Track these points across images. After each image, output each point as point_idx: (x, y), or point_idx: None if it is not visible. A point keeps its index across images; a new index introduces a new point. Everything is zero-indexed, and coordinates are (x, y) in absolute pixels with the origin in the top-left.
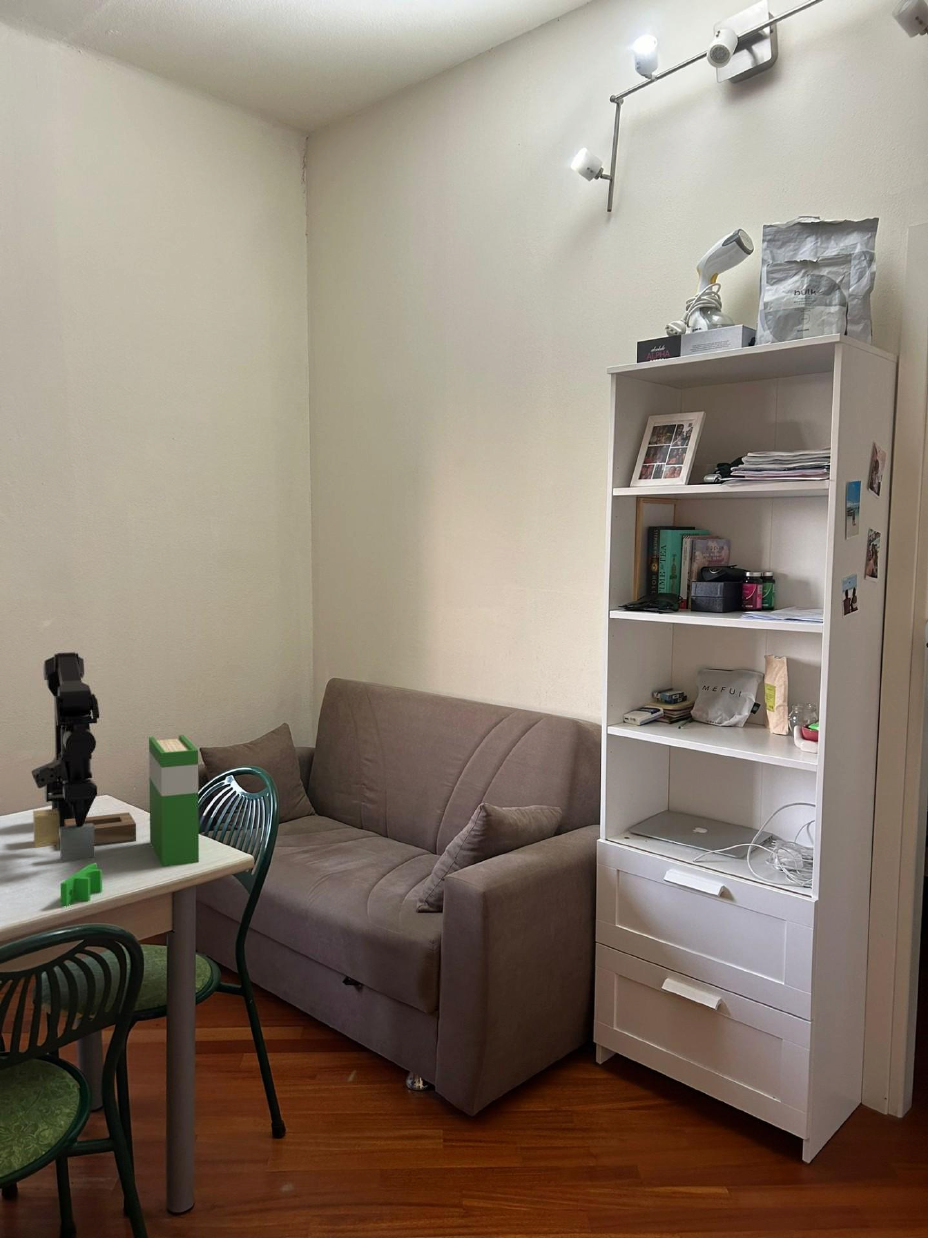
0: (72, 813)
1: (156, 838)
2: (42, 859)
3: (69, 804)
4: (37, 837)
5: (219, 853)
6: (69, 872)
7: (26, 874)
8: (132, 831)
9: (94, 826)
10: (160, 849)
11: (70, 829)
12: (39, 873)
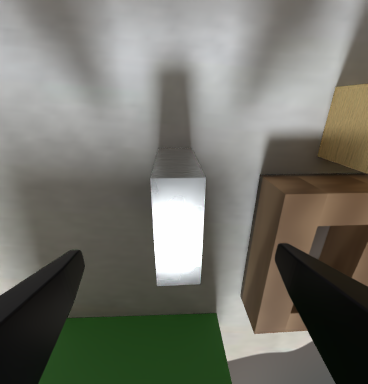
0: (283, 250)
1: (123, 354)
2: (213, 99)
3: (330, 274)
4: (361, 92)
5: None
6: (67, 160)
7: (80, 34)
8: (248, 311)
9: None
10: (65, 348)
11: (152, 214)
12: (80, 78)
